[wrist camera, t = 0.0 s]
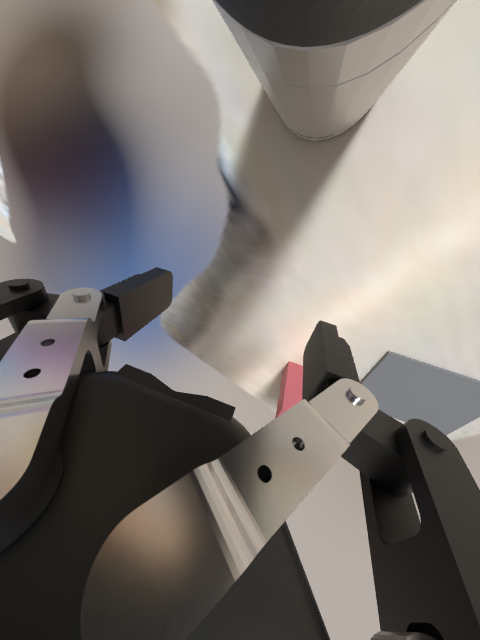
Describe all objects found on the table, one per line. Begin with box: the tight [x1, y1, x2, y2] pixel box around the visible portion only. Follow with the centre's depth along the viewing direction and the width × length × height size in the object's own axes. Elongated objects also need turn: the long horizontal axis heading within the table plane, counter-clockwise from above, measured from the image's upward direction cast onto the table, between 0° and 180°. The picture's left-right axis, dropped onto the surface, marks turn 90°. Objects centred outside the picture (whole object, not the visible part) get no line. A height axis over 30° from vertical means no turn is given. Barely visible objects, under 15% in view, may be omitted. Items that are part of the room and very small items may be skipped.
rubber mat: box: [360, 351, 480, 435], centre depth 31 cm, size 12×16×1 cm
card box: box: [275, 362, 303, 419], centre depth 32 cm, size 4×5×9 cm
